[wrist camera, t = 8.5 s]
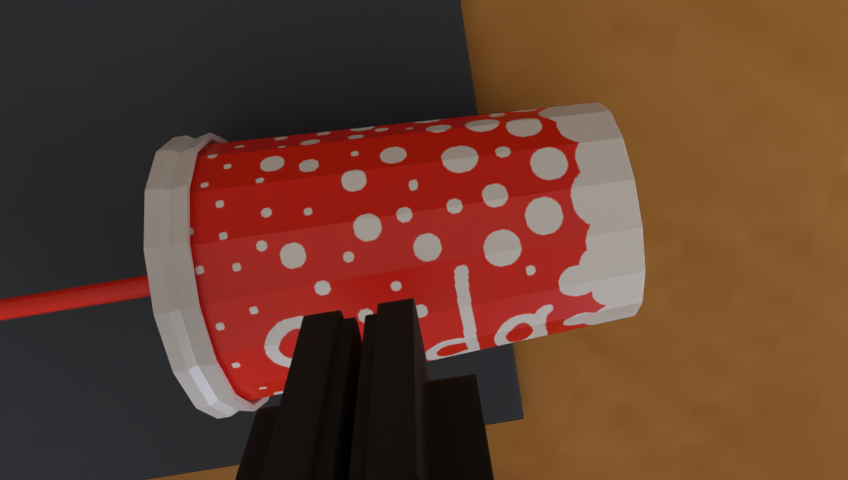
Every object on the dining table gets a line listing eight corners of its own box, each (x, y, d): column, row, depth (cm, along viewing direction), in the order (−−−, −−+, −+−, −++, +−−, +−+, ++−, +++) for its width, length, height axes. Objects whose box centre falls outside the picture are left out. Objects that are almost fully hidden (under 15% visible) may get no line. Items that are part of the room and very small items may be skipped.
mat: (442, -106, 17) (443, -107, 16) (522, 411, 22) (523, 419, 22) (-313, 41, 18) (-329, 43, 17) (-63, 505, 23) (-71, 515, 22)
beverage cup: (616, 359, 18) (64, 445, 19) (568, 127, 20) (54, 213, 20) (682, 340, 12) (-128, 468, 13) (608, 8, 14) (-125, 136, 14)
